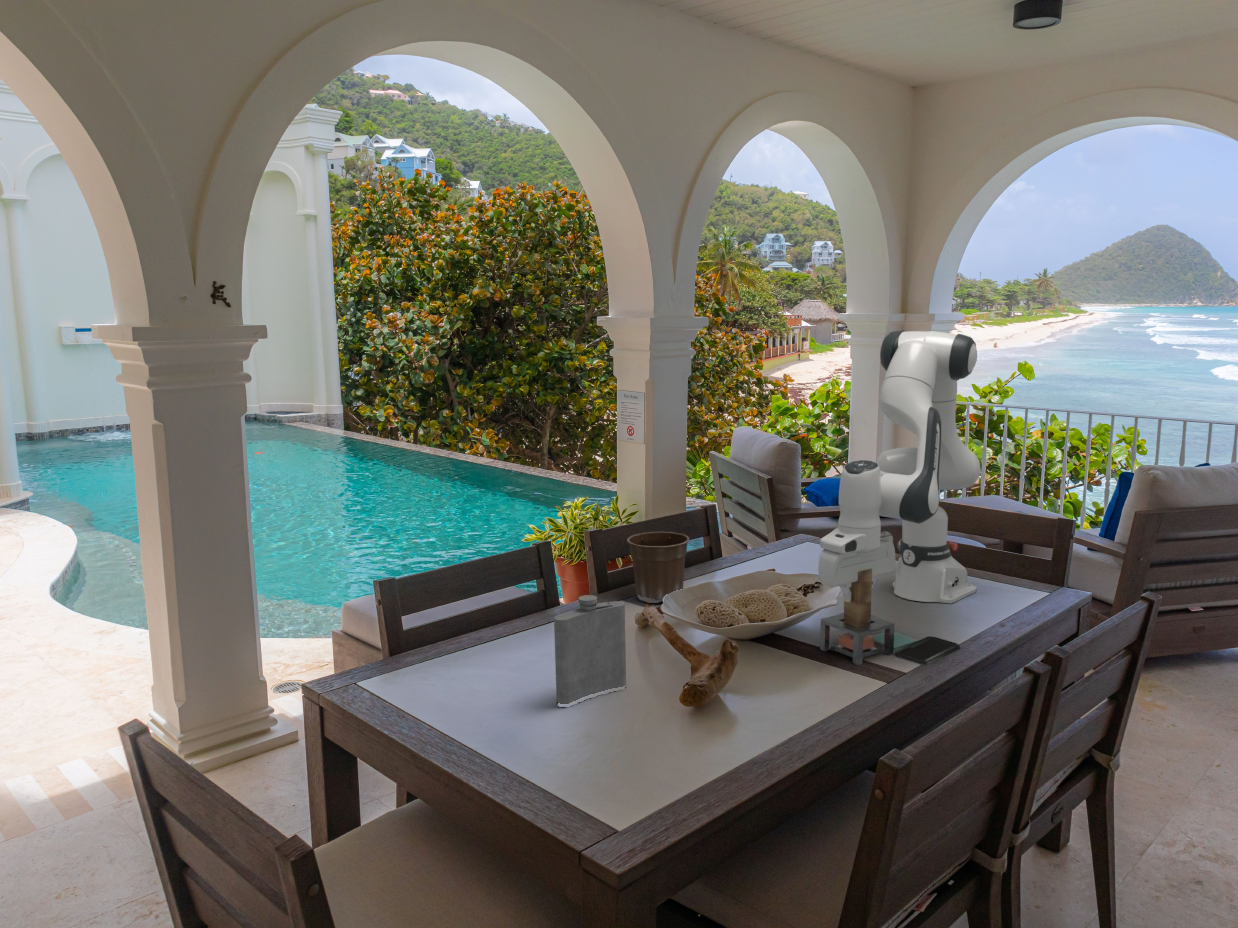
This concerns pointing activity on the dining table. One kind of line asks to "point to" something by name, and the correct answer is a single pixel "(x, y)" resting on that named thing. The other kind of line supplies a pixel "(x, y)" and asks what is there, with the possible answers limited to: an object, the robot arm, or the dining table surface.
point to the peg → (860, 601)
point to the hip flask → (589, 649)
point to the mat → (895, 640)
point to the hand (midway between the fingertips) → (857, 598)
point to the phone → (927, 650)
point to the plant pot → (658, 562)
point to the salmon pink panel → (847, 641)
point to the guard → (857, 636)
